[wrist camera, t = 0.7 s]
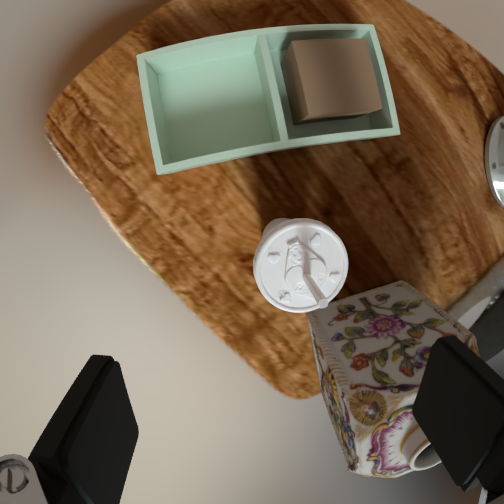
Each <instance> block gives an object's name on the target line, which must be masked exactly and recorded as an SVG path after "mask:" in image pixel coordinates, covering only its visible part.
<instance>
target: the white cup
mask: <svg viewBox="0 0 504 504" xmlns="http://www.w3.org/2000/svg"><path fill="white" fill-rule="evenodd" d="M347 272H348V256H347V252H346V249H345V246H344V244H343V242H342V241H341V239H340V238H339V237H338V235H337V234H336V233H335V232H334V231H333V230H332V229H331V228H330V227H328V226H327V225H325V224H323V223H322V222H320V221H316V220H313V219H309V218H295V219H287V218H277V219H274V220H272V221H271V222H270V223H268V224H267V226H266V227H265V229H264V231H263V234H262V240H261V242H260V243H259V245H258V247H257V248H256V252H255V256H254V260H253V273H254V276H255V280H256V283H257V285H258V287H259V289H260V291H261V293H262V294H263V296H264V297H265V298H266V299H267V300H268V301H269V302H270V303H271V304H272V305H274V306H276V307H277V308H279V309H282V310H285V311H288V312H296V313H301V312H308V311H312V310H315V309H318V308H325V307H327V306H328V302H330V301H331V300H332V299H333V298H334V297H335V296H336V295H337V294H338V292H339V291H340V289H341V288H342V286H343V284H344V282H345V279H346V276H347Z"/></svg>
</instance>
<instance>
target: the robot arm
mask: <svg viewBox="0 0 504 504" xmlns="http://www.w3.org/2000/svg"><path fill="white" fill-rule="evenodd" d="M485 168H486V174H487V179H488V182H489V186H490V188H491V191H492V193H493V195H494V197H495V199H496V200H497V202H498V203H499V204H500V205H501V206H502V207H503V208H504V115H502V116H500V117H498V118H497V119H496V120H495V121H494V122H493V123H492V125H491V127H490V129H489V131H488V135H487V138H486V145H485ZM412 414H413V417H414V418H415V420H416V421H417V423H418V425H419V426H420V428H421V429H422V431H423V432H424V434H425V435H426V437H427V439H428V440H429V442H430V443H431V445H432V447H433V448H434V450H435V451H436V453H437V455H438V456H439V458H440V459H441V461H442V463H443V464H444V466H445V468H446V469H447V471H448V472H449V474H450V476H451V477H452V479H453V481H454V482H455V484H456V485H458V486H461V488H462V490H463V491H464V492H466V491H468V490H470V489H472V488H474V487H476V486H477V485H478V484H479V483H481V484H482V491H481V496H480V500H479V504H504V380H503V379H502V378H501V377H500V376H499V375H498V374H497V373H496V372H495V371H494V370H493V369H491V368H490V367H489V366H488V365H487V364H486V363H485V362H484V361H483V360H482V359H481V358H480V357H479V356H477V355H476V354H475V353H474V352H473V351H472V350H471V349H470V348H469V347H467V346H466V345H465V344H464V343H463V342H462V341H461V340H460V339H458V338H457V337H456V336H454V335H450V336H445V337H440V338H438V339H437V340H436V341H435V343H434V344H433V345H432V347H431V350H430V354H429V357H428V361H427V364H426V368H425V371H424V374H423V377H422V380H421V384H420V387H419V390H418V393H417V395H416V398H415V401H414V404H413V407H412ZM138 433H139V431H138V425H137V422H136V419H135V416H134V413H133V410H132V406H131V403H130V400H129V397H128V393H127V389H126V387H125V382H124V379H123V375H122V371H121V367H120V364H119V362H117V361H114V359H113V358H112V357H111V356H103V355H92V356H91V357H90V359H89V360H88V361H87V363H86V364H85V366H84V367H83V369H82V370H81V372H80V373H79V375H78V377H77V378H76V380H75V381H74V383H73V384H72V386H71V387H70V389H69V391H68V392H67V394H66V395H65V397H64V398H63V400H62V402H61V403H60V405H59V406H58V408H57V410H56V411H55V413H54V414H53V416H52V418H51V419H50V421H49V423H48V424H47V426H46V428H45V429H44V431H43V433H42V435H41V436H40V438H39V440H38V441H37V443H36V445H35V447H34V448H33V450H32V452H31V454H30V456H29V457H28V459H27V458H25V457H23V456H21V455H15V454H11V455H4V456H2V457H0V504H119V503H120V499H121V495H122V492H123V488H124V484H125V481H126V477H127V473H128V470H129V467H130V463H131V460H132V456H133V453H134V449H135V446H136V443H137V439H138Z"/></svg>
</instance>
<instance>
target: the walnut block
mask: <svg viewBox="0 0 504 504" xmlns="http://www.w3.org/2000/svg"><path fill="white" fill-rule="evenodd" d="M280 66H281V70H282V74H283V79H284V83H285V88H286V92H287V97H288V101H289V106H290V111H291V116H292V121H293V125H300V124H308V123H316V122H324V121H333V120H343V119H353V118H357V117H360V116H363V115H366V114H368V113H371V112H374V111H377V110H380V109H383V108H382V103H381V98H380V94H379V90H378V85H377V81H376V77H375V73H374V69H373V65H372V61H371V58H370V54H369V50H368V47H367V43H366V40H365V39H362V38H338V39H311V40H296V41H291V43H290V45H289V47H288V49H287V51H286V53H285V56H284V58H283V60H282V62H281V64H280Z"/></svg>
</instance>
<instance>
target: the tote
mask: <svg viewBox="0 0 504 504" xmlns="http://www.w3.org/2000/svg"><path fill="white" fill-rule="evenodd" d="M338 38H362V39H365V40H366V43H367V47H368V50H369V54H370V58H371V61H372V65H373V69H374V73H375V77H376V81H377V85H378V90H379V94H380V98H381V103H382V108H383V109H380V110H377V111H374V112H371V113H368V114H366V115H363V116H360V117H357V118H353V119H343V120H333V121H324V122H316V123H308V124H300V125H293V121H292V116H291V111H290V106H289V101H288V97H287V92H286V88H285V83H284V79H283V74H282V70H281V66H280V64H281V62H282V60H283V58H284V56H285V53H286V51H287V49H288V47H289V45H290V43H291V41H296V40H311V39H338ZM137 63H138V70H139V77H140V83H141V90H142V96H143V102H144V108H145V114H146V120H147V126H148V131H149V137H150V142H151V147H152V152H153V157H154V162H155V167H156V172H157V175H161V174H170V173H174V172H179V171H183V170H187V169H191V168H196V167H200V166H205V165H209V164H214V163H219V162H224V161H229V160H233V159H239V158H244V157H249V156H254V155H260V154H265V153H271V152H277V151H283V150H289V149H296V148H302V147H309V146H316V145H323V144H331V143H339V142H347V141H356V140H365V139H375V138H382V137H388V136H394V135H400V130H399V124H398V119H397V114H396V109H395V104H394V99H393V95H392V90H391V86H390V82H389V78H388V74H387V70H386V66H385V62H384V59H383V55H382V51H381V48H380V45H379V41H378V38H377V35H376V31H375V28H374V25H368V24H310V25H293V26H280V27H270V28H261V29H253V30H246V31H239V32H233V33H226V34H221V35H215V36H210V37H205V38H200V39H196V40H191V41H187V42H183V43H178V44H174V45H171V46H167V47H163V48H159V49H156V50H152V51H149V52H145V53H142V54H139V55H137Z"/></svg>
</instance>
